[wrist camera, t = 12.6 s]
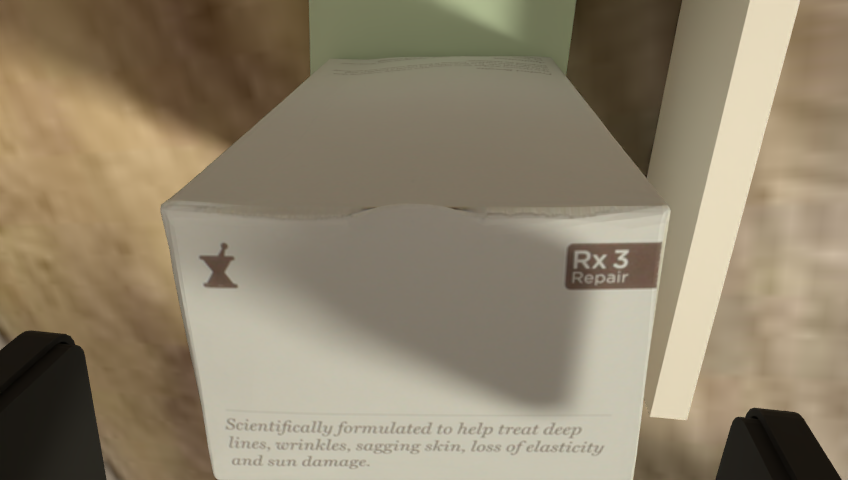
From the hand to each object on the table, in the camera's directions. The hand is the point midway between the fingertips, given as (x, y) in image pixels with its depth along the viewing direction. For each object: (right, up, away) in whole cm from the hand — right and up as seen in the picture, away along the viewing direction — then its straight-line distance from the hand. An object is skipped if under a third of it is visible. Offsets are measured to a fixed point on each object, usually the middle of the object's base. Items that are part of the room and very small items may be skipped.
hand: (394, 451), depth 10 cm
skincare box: (+1, +7, +15) cm, 17 cm away
